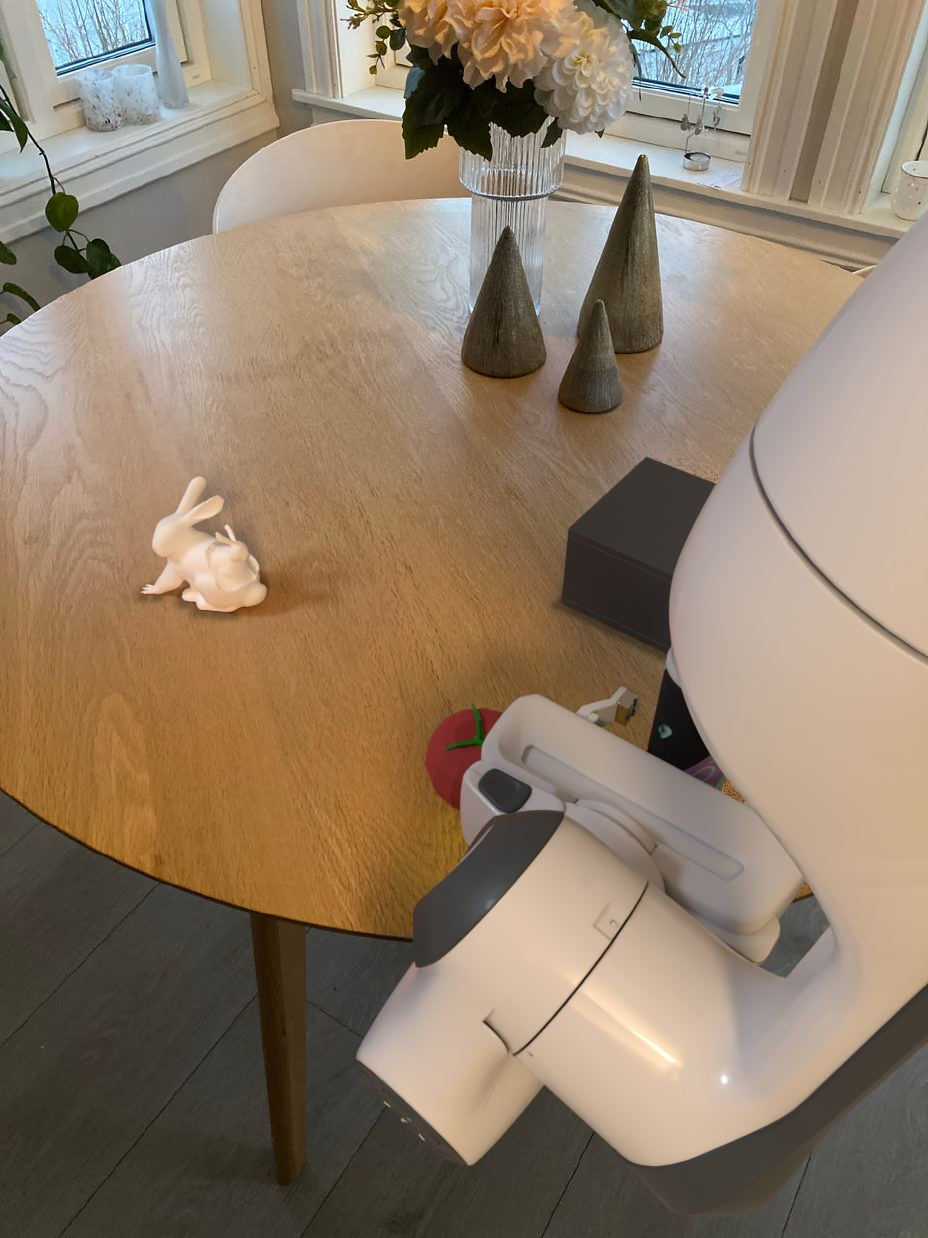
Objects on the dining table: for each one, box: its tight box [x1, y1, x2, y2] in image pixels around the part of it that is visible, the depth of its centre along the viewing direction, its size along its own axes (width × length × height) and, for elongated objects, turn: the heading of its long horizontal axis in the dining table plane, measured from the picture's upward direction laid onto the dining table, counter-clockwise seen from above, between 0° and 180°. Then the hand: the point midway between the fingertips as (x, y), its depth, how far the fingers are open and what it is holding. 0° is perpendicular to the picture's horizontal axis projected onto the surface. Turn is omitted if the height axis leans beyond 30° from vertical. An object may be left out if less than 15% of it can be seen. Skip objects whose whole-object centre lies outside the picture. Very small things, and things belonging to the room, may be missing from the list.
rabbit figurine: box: [140, 476, 268, 613], centre depth 85 cm, size 12×8×10 cm, turn 67°
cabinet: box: [560, 456, 717, 655], centre depth 85 cm, size 17×14×9 cm
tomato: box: [424, 702, 504, 810], centre depth 69 cm, size 8×8×8 cm
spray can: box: [646, 644, 727, 792], centre depth 63 cm, size 6×6×20 cm
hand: (694, 729), depth 62 cm, fingers open, 8 cm apart
